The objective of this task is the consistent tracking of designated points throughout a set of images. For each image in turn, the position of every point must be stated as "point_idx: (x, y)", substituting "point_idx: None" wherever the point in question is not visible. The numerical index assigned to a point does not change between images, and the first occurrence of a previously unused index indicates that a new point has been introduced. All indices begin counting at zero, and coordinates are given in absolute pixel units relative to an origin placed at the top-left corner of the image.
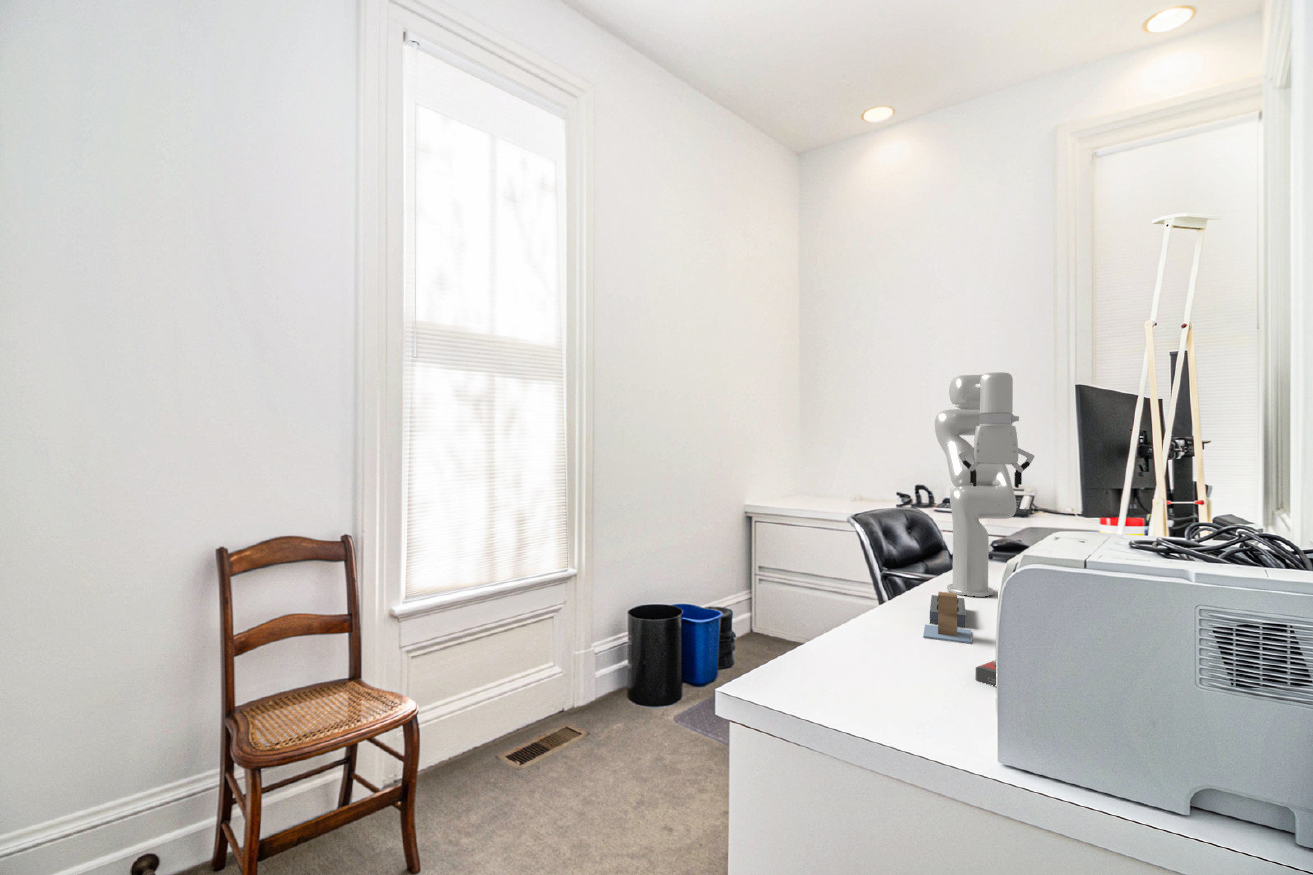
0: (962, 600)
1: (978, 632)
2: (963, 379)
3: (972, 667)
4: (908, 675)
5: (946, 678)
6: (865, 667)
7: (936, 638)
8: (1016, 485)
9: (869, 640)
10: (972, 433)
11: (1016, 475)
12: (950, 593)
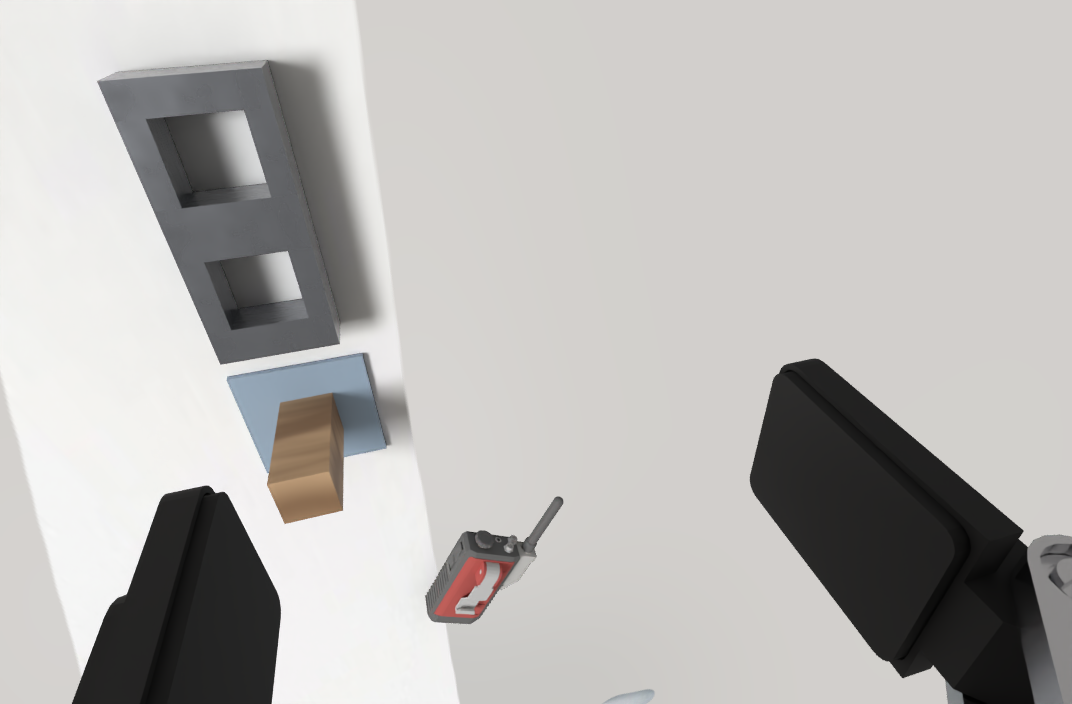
0: (268, 123)
1: (383, 347)
2: None
3: (412, 558)
4: (324, 640)
5: (382, 617)
6: None
7: None
8: (771, 506)
9: None
10: None
11: (865, 621)
12: (310, 484)
